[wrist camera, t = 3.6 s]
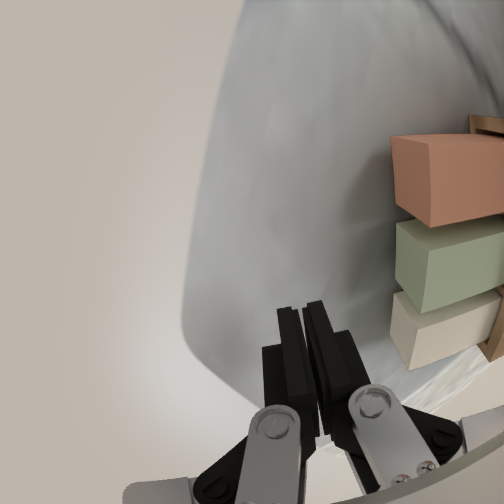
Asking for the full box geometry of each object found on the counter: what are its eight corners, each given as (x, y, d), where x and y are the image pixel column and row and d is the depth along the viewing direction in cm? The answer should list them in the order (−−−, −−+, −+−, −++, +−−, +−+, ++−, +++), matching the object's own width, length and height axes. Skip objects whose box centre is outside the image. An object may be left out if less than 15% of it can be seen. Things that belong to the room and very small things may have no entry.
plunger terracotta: (390, 136, 11) (428, 143, 8) (508, 135, 10) (546, 145, 7) (395, 203, 12) (430, 227, 9) (508, 186, 11) (543, 203, 8)
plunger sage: (395, 222, 12) (428, 250, 10) (508, 202, 12) (541, 221, 9) (394, 278, 14) (420, 313, 11) (502, 248, 13) (531, 271, 10)
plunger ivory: (393, 293, 14) (417, 329, 11) (499, 261, 13) (527, 285, 10) (389, 334, 16) (407, 371, 13) (490, 299, 15) (513, 325, 12)
